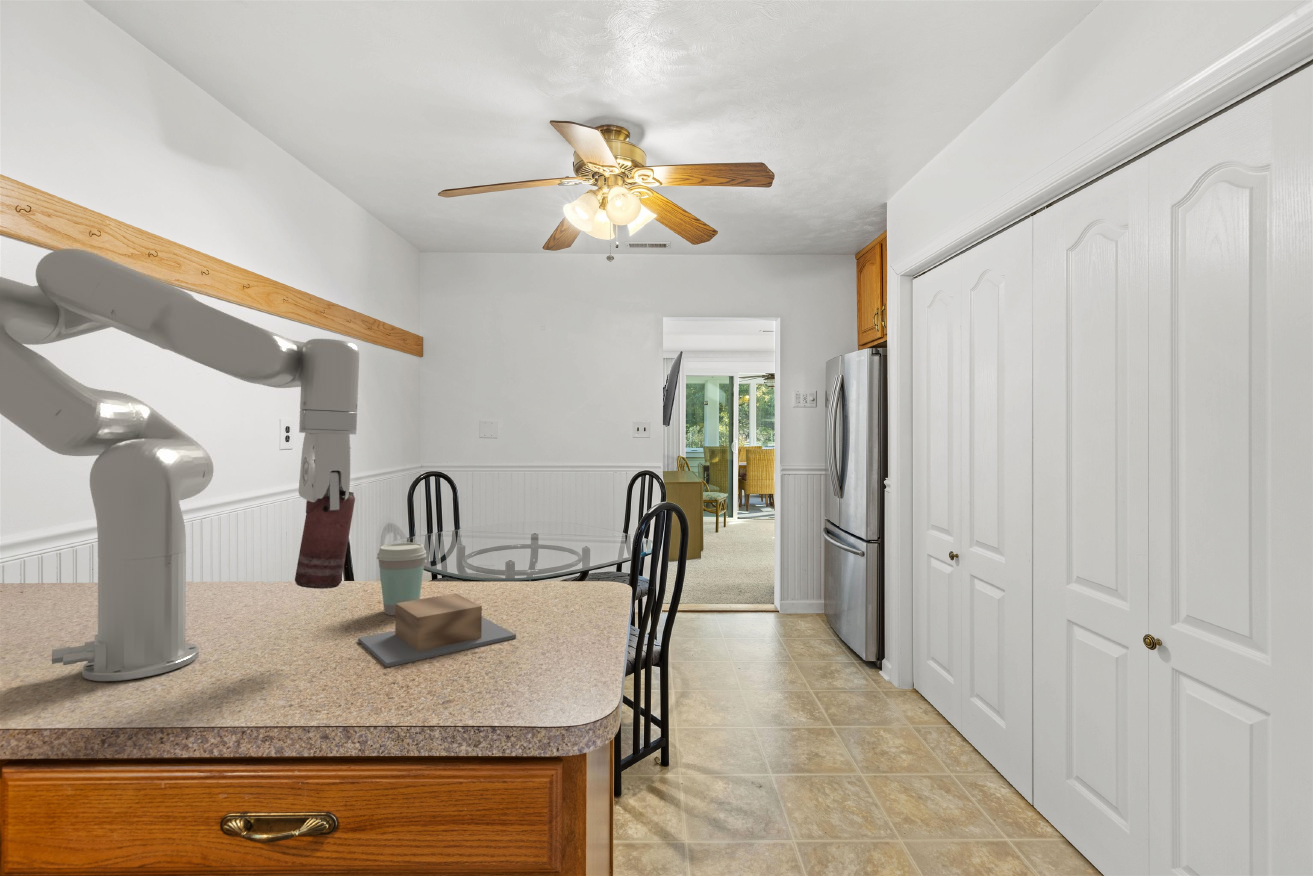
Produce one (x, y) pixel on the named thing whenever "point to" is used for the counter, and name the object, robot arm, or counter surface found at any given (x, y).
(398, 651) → the mat
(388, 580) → the coffee cup
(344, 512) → the can
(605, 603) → the counter surface
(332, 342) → the robot arm
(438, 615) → the block
